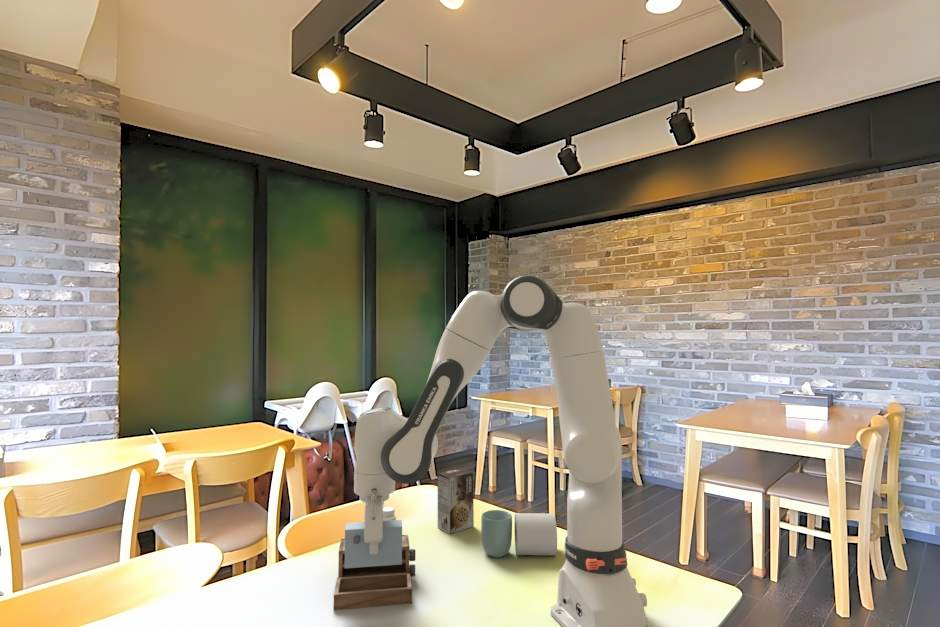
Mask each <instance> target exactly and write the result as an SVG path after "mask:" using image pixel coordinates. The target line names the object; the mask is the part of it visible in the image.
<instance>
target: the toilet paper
mask: <svg viewBox="0 0 940 627" xmlns="http://www.w3.org/2000/svg"><path fill="white" fill-rule="evenodd" d="M513 523H514V528H513V529H514V530H513V531H514V550H515V555H516V556H557V553H558V531H557V530H558V528H557V521H556V515H555V513H543V512H539V513H537V512H536V513H530V512H529V513H527V512H526V513H525V512H524V513H523V512H521V513H520V512H515V513H514V522H513Z"/></svg>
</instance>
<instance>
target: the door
mask: <svg viewBox="0 0 940 627" xmlns="http://www.w3.org/2000/svg"><path fill="white" fill-rule="evenodd" d="M402 535H403V521H402V519H398V520H397V519H396V520H391V521H383V539H382V541H381V542H379V543H378V553H377V554H370V553H369V543H365V541H364V521H358V522H346V524H345V528H344V539H345V568H359V567H373V566H387V565H401V564H402Z"/></svg>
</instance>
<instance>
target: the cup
mask: <svg viewBox="0 0 940 627" xmlns="http://www.w3.org/2000/svg"><path fill="white" fill-rule="evenodd" d="M480 520H481V521H480V522H481V526H480V528H481V542H482V543H481V545H482V549H483V550H484V553H485V554H486V555H488V556H489V557H491V558H492V557H493V558H501V557H502V558H503V557H505V556H506V555H508V554H509V552H510V550H511V547H512V541H513V515H512V514H511V513H510V512H508V511H506V510H501V509H490V510H486V511H484V512H483V513H482V514H481V519H480Z"/></svg>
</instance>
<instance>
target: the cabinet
mask: <svg viewBox="0 0 940 627" xmlns="http://www.w3.org/2000/svg"><path fill="white" fill-rule="evenodd" d="M415 561H416V549H414V548H411V549H410V540H409V534H402V564H401V565H387V566H373V567H359V568H345V538H341V539H340V543H339V547H338V576H337V577H336V582H335V588H334V592H333V610H347V609H357V608H359V609H360V608H369V607H371V608H372V607H381V606H394V605H406V604H407V605H409V604H412V600H413V598H412V597H413V596H412V595H413V594H412V592H413V588H412V577H415V576H416V564H412V563H411V564H410V562H415Z"/></svg>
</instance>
